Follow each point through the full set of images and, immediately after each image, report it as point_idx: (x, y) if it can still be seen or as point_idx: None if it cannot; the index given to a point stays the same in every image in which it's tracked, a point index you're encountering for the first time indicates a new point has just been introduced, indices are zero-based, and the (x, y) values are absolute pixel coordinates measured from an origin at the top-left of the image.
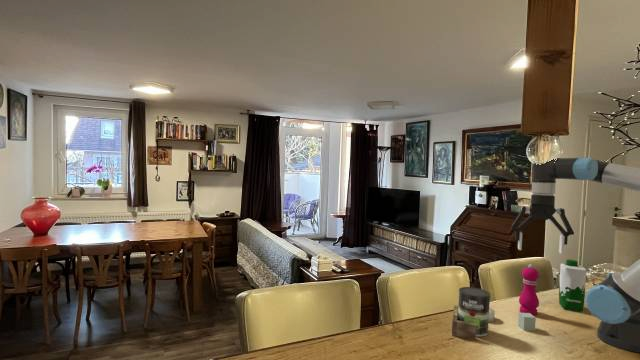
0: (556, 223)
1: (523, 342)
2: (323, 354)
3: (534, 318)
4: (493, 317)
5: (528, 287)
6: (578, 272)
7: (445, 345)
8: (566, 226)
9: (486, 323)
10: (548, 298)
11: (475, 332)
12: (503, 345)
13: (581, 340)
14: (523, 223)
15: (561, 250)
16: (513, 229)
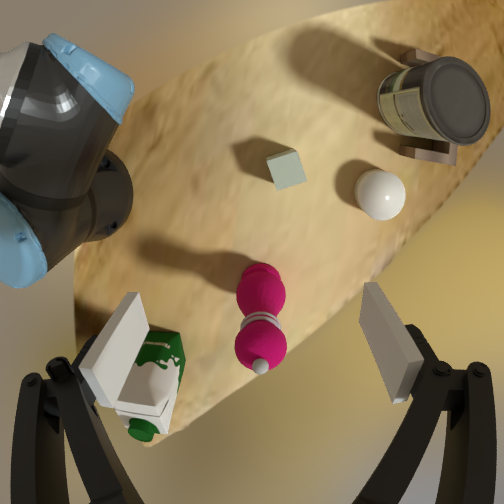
0: (95, 466)
1: (303, 74)
2: None
3: (269, 159)
4: (360, 181)
5: (266, 309)
6: (128, 395)
7: (443, 24)
8: (39, 430)
9: (393, 78)
10: (203, 381)
11: (408, 52)
12: (347, 45)
13: (168, 152)
14: (428, 441)
15: (131, 303)
16: (475, 365)
